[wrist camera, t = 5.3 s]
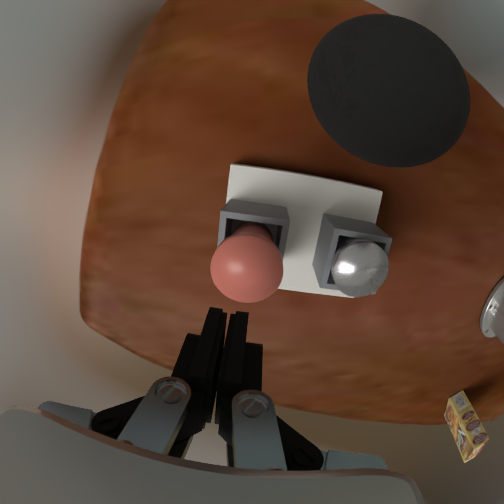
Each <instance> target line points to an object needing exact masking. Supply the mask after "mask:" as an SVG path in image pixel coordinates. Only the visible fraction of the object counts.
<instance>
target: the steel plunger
mask: <svg viewBox="0 0 504 504" xmlns="http://www.w3.org/2000/svg"><path fill="white" fill-rule="evenodd" d="M388 269H389V263H388V258H387V255H386V254H385V252H384V251H383V250H382V248H381V247H380V246H379V245H377V244H376V243H375V242H373V241H371V240H369V239H363V238H360V239H359V238H354V237H348V236H342V235H339V238H338V242H337V246H336V250H335V254H334V257H333V260H332V264H331V274H332V277H333V280H334V282H335V284H336V286H337V288H338V289H339V290H340V291H341V292H342V293H344V294H345V295H348V296H351V297H362V296H366V295H369V294H371V293H373V292H374V291H376V290H377V289H378V288H379V287H380V286H381V285H382V284H383V282H384V280H385V279H386V276H387V273H388Z"/></svg>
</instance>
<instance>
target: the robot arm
mask: <svg viewBox="0 0 504 504" xmlns="http://www.w3.org/2000/svg"><path fill="white" fill-rule="evenodd" d="M248 315H249V313H248V312H240V311H236V314H231V315H230V320H229V325H228V330H227V335H226V340H225V345H224V339H225V329H226V319H227V313H224V312H223V309H220V308H213V307H210V308H209V311H208V314H207V317H206V320H205V323H204V326H203V330H202V333H201V335H195V334H190V333H188V334H187V336H186V338H185V341H184V343H183V346H182V349H181V351H180V354H179V357H178V359H177V362H176V364H175V367H174V370H173V373H172V375H171V377H163V378H160V379H158V380H156V381H155V382H154V383H153V384H152V386H151V387H150V389H149V390H148V392H147V393H146V395H145V396H143V397H140V398H137V399H135V400H132V401H129V402H126V403H124V404H120V405H117V406H114V407H111V408H108V409H105V410H103V411H100V412H98V413H95V412H93V411H92V410H90V409H85V408H80V407H75V406H70V405H66V404H61V403H57V402H53V401H47V402H44V403H42V404H41V405H40V406H39V407H38V408H33V407H29V406H9V407H7V408H5V409H3V410H2V411H1V412H0V504H424V501H423V498H422V495H421V493H420V491H419V489H418V487H417V485H416V484H415V482H414V481H413V480H412V479H411V478H410V477H408V476H406V475H404V474H401V473H398V472H395V471H390V470H387V466H386V463H385V461H384V460H383V459H382V458H381V457H379V456H377V455H372V454H359V453H350V452H341V451H334V450H328V452H326V451H320V450H319V449H318V448H317V447H316V446H315V445H314V444H312V443H311V442H310V441H308V440H307V439H306V438H304V437H303V436H302V435H300V434H299V433H298V432H297V431H295V430H294V429H293V428H291V427H290V426H289V425H288V424H286V423H285V422H284V421H283V420H282V419H280V418H279V417H278V416H276V413H275V408H274V404H273V401H272V399H271V398H270V397H269V396H268V395H266V394H265V393H263V392H261V389H262V355H263V345H262V344H255V343H247V342H246V334H247V324H248ZM480 329H481V331H482V333H483V334H484V335H485V336H486V337H494V336H497V337H498V338H499V339H500V341H501V342H502V343H503V344H504V278H503V279H502V280H500V281H499V283H498V284H497V285H496V286H495V288H494V289H493V291H492V292H491V294H490V295H489V297H488V299H487V301H486V303H485V305H484V308H483V310H482V314H481V318H480ZM216 392H217V396H216ZM215 397H217V398H216V411H215V424H219V431H218V434H219V435H220V436H221V437H222V438H223V439H224V440H225V441H226V452H227V453H226V454H227V466H220V465H213V464H206V463H201V462H195V461H191V460H185V459H184V458H185V455H186V453H187V451H188V449H189V446H190V444H191V442H192V439H193V435H194V434H196V433H198V432H200V431H202V429H204V427H205V423H206V422H207V423H210V422H211V418H212V413H213V407H214V402H215Z"/></svg>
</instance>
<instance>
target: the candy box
mask: <svg viewBox="0 0 504 504" xmlns="http://www.w3.org/2000/svg"><path fill="white" fill-rule="evenodd" d="M444 417H445V419H446V421H447V423H448V425H449V427H450V430H451V432H452V434H453V436H454V439H455V441H456V443H457V446H458V448H459V451H460V453H461V455H462V458H463V461H464V463H465V462H467V461H469V460H470V459H472V458H474V457H475V456H477V455H478V454H479V453H480V451H481V450H482V449H483V447H484V446H485V444H486V443H487V442H488V441H489V437H488V435H487V434H486V431H485V430H484V427H483V426H482V424H481V422H480V420H479V418H478V416H477V414H476V412H475V411H474V409H473V407H472V405H471V403H470V402H469V400H468V398H467V396H466V395H465V393H464V391H463V390H462V391H460V392H458V393H457V394H455V395H453V396H451V397H450V398H449V400H448V403H447V407H446V411H445V414H444Z"/></svg>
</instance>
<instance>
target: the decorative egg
mask: <svg viewBox="0 0 504 504" xmlns="http://www.w3.org/2000/svg"><path fill="white" fill-rule="evenodd" d="M307 82H308V92H309V97H310V101H311V104H312V107H313V110H314V112H315V114H316V117H317V118H318V120H319V122H320V123H321V125H322V126H323V128H324V129H325V130H326V132H327V133H328V134H329V135H330V136H331V137H332V138H333V139H334V140H335V141H336V142H337V143H338V144H339V145H340V146H342V147H343V148H344V149H345V150H347V151H348V152H350V153H351V154H353V155H355V156H357V157H359V158H361V159H363V160H366V161H368V162H371V163H374V164H378V165H382V166H388V167H412V166H417V165H421V164H424V163H427V162H430V161H432V160H434V159H436V158H438V157H440V156H441V155H443V154H444V153H445V152H447V151H448V150H449V149H450V148H451V147H452V146H453V145H454V144H455V143H456V141H457V140H458V139H459V137H460V136H461V134H462V132H463V130H464V128H465V126H466V123H467V119H468V116H469V109H470V93H469V87H468V83H467V79H466V76H465V73H464V71H463V68H462V66H461V64H460V63H459V61H458V59H457V58H456V56H455V55H454V53H453V52H452V51H451V49H450V48H449V47H448V46H447V45H446V44H445V43H444V42H443V41H442V40H441V39H440V38H439V37H438V36H437V35H436V34H434V33H433V32H431V31H430V30H429V29H427V28H426V27H424V26H422V25H420V24H418V23H416V22H414V21H411V20H409V19H406V18H403V17H399V16H394V15H388V14H370V15H363V16H358V17H355V18H352V19H349V20H347V21H345V22H343V23H341V24H339V25H337V26H336V27H334V28H333V29H332V30H331V31H330V32H328V33H327V34H326V35H325V36H324V37H323V39H322V40H321V41H320V43H319V44H318V45H317V47H316V49H315V51H314V53H313V55H312V58H311V61H310V64H309V69H308V80H307Z"/></svg>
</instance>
